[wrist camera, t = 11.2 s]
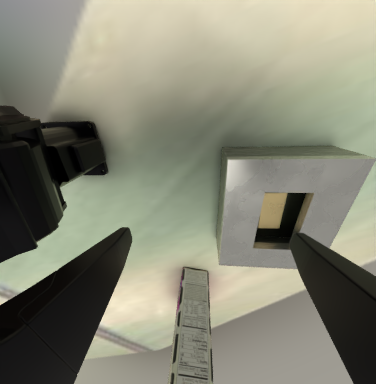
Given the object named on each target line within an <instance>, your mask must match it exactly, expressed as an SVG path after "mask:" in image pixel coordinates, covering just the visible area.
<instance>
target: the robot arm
mask: <svg viewBox="0 0 376 384" xmlns="http://www.w3.org/2000/svg"><path fill="white" fill-rule="evenodd" d="M89 124H90V125H91V128H90V127H89ZM40 126H41V127H40ZM46 127H47V128H46ZM102 170H104V172H103V171H102ZM107 173H108V170H107V166H106V163H105V157H104V153H103V150H102V146H101V143H100V140H99V138H98V134H97V131H96V127H95V124H94V123H93V122H91V121H78V122H47V123H41V122H40V119H35V118H30V117H28V116H24V115H23V114H21V113H20V112H19V111H18V110H17V109H15V108H14V107H12V106H0V263H1V262H3V261H5V260H7V259H10V258H12V257H14V256H16V255H19V254H22V253H25V252H28V251H31V250H33V249H36V248H37V247H38V245H37V242H38V241H40V240H41V239H43V238H45V237H46V236H48V235H50V234H51V233H52V232H53V231H55V230H56V229H57V228H58V227H59V225H58V223H59V222H60V220H61V218H62V217H63V211H64V210H65V208H66V207H67V205H66V202H65V201H64V199H63V196H62V193H61V190H60V187H62V186H64V185H66V184H67V183H69V182H71V181H73V180H75V179H76V178H78V177H80V176H82V175H106V174H107ZM131 243H132V236H131V232H130V229H129V228H128V227H122V228H120V229H118V230H117V231H115V232H114V233H112V234H111V235H109V236H108V237H106V238H105V239H103V240H102V241H100V242H99V243H97V244H96V245H94V246H93V247H91V248H90V249H88V250H87V251H85V252H84V253H82V254H81V255H79V256H78V257H76V258H75V259H73V260H71V261H70V262H68V263H67V264H65V265H64V266H62V267H61V268H59V269H58V270H57V271H55V272H53V273H52V274H50V275H49V276H47V277H46V278H44V279H43V280H41V281H39V282H38V283H36V284H35V285H33V286H32V287H30V288H28V289H27V290H25V291H23V292H22V293H20V294H18V295H17V296H15V297H13V298H12V299H10V300H8V301H7V302H5V303H3V304H1V305H0V384H74V382H75V380H76V377H77V374H78V372H79V370H80V367H81V365H82V363H83V361H84V359H85V356H86V354H87V352H88V349H89V347H90V345H91V342H92V340H93V338H94V335H95V333H96V331H97V329H98V326H99V324H100V322H101V319H102V317H103V315H104V312H105V310H106V308H107V305H108V303H109V301H110V299H111V296H112V294H113V292H114V289H115V287H116V285H117V282H118V280H119V278H120V275H121V273H122V271H123V268H124V266H125V263H126V259H127V256H128V253H129V250H130V247H131ZM290 250H291V252H292V255H293V258H294V261H295V263H296V266H297V269H298V271H299V274H300V276H301V278H302V280H303V282H304V285H305V287H306V289H307V291H308V292H309V295H310V297H311V299H312V300H313V303H314V304H315V307H316V309H317V311H318V313H319V315H320V317H321V319H322V321H323V323H324V325H325V327H326V329H327V331H328V333H329V335H330V337H331V339H332V341H333V343H334V345H335V347H336V349H337V351H338V353H339V355H340V357H341V359H342V361H343V363H344V365H345V367H346V369H347V371H348V373H349V375H350V377H351V379H352V381H353V383H354V384H376V276H374V275H373V274H371V273H369V272H368V271H366V270H364V269H363V268H361V267H359V266H358V265H356V264H354V263H353V262H351V261H349V260H348V259H346V258H344V257H343V256H341V255H339V254H338V253H336V252H334V251H333V250H331V249H329V248H328V247H326V246H324V245H323V244H321V243H319V242H318V241H316V240H314V239H313V238H311V237H309V236H308V235H306V234H304V233H294V234H293V236H292V239H291V241H290Z"/></svg>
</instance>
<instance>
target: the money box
mask: <svg viewBox="0 0 376 384" xmlns="http://www.w3.org/2000/svg"><path fill="white" fill-rule="evenodd" d="M375 161H376V158H373V157H369V156H366V155H362V154H359V153H356V152H352V151H349V150H345V149H342V148H339V147H335V146H289V147H222V160H221V175H220V190H219V205H218V220H217V235H216V239H217V249H218V259H219V265H227V266H246V267H266V268H285V269H297V266H296V263H295V261H294V258H293V255H292V252H291V250H290V241H291V239H292V236H293V234H294V233H304V234H306V235H308V236H309V237H311V238H313V239H314V240H316V241H318V242H319V243H321V244H323V245H324V246H326V247H328V248H330V246H331V244H332V242H333V240H334V238H335V236H336V235H337V233H338V231H339V229H340V227H341V225H342V223H343V221H344V219H345V217H346V216H347V214H348V212H349V210H350V208H351V206H352V204H353V202H354V200H355V199H356V197H357V195H358V193H359V191H360V189H361V187H362V185H363V183H364V181H365V180H366V178H367V176H368V174H369V172H370V170H371V168H372V166H373V164H374V162H375ZM265 192H272V193H307V194H306V197H305V199H304V202H303V205H302V208H301V211H300V213H299V216H298V219H297V222H296V225H295V227H294V230H293V233H292V236H291V237H271V236H256V231H257V227H258V222H259V217H260V213H261V208H262V203H263V199H264V194H265Z"/></svg>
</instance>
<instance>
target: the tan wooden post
mask: <svg viewBox="0 0 376 384" xmlns="http://www.w3.org/2000/svg"><path fill="white" fill-rule="evenodd" d="M287 194H288V193H272V192H265V194H264V199H263V203H262V208H261V213H260V217H259V222H258V228H279V226H280V222H281V218H282V214H283V210H284V206H285V202H286V198H287Z"/></svg>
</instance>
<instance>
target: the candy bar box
mask: <svg viewBox="0 0 376 384" xmlns="http://www.w3.org/2000/svg"><path fill="white" fill-rule="evenodd" d="M212 368H213V367H212V346H211V326H210V303H209V278H208V271H205V270H199V269H192V268H185V267H184V268H183V272H182V278H181V283H180V289H179V296H178V304H177V312H176V321H175V329H174V337H173V345H172V353H171V361H170V369H169V377H168V384H213V369H212Z"/></svg>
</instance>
